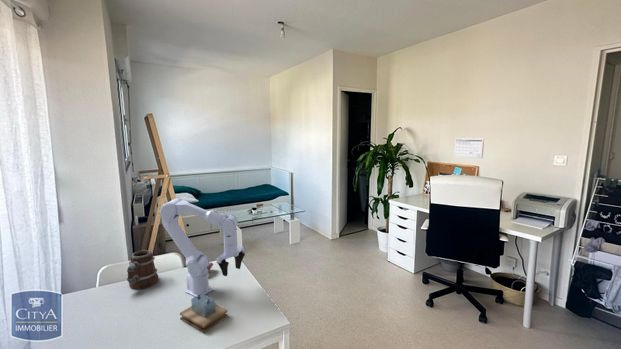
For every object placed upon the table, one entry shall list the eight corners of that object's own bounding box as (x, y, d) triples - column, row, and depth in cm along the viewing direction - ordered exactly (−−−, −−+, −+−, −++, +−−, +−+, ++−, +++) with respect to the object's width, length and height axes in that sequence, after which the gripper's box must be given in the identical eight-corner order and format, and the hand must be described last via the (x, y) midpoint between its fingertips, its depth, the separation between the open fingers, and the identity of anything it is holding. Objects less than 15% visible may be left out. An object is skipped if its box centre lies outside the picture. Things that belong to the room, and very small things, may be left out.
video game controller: (200, 282, 138) (205, 270, 136) (192, 277, 138) (197, 266, 136) (211, 272, 147) (216, 261, 146) (204, 268, 148) (208, 257, 146)
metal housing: (205, 318, 104) (204, 304, 103) (191, 311, 108) (191, 297, 107) (215, 311, 108) (214, 298, 107) (202, 304, 112) (201, 292, 111)
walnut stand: (180, 319, 107) (179, 312, 107) (204, 304, 117) (204, 298, 116) (203, 333, 100) (203, 326, 100) (227, 316, 109) (227, 309, 109)
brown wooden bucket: (140, 276, 140) (137, 247, 138) (163, 277, 139) (161, 248, 137) (116, 294, 124) (113, 262, 122) (143, 295, 124) (140, 263, 122)
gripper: (223, 250, 115) (225, 281, 117) (248, 239, 128) (249, 267, 130) (212, 247, 119) (214, 276, 121) (237, 236, 131) (238, 263, 133)
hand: (231, 271), depth 126 cm, fingers open, 7 cm apart
